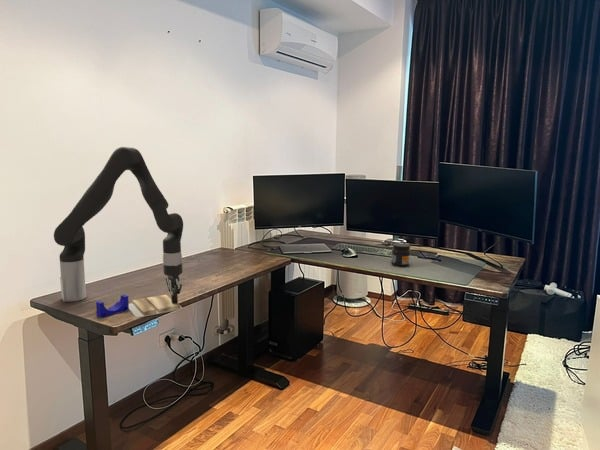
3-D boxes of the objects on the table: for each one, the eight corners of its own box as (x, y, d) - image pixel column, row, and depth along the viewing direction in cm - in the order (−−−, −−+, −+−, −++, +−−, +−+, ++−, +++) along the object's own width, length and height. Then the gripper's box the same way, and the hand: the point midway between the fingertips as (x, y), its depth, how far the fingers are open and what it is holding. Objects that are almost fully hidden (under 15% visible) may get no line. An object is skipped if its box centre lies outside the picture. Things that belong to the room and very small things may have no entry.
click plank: (158, 312, 186) (158, 308, 186) (146, 301, 199) (146, 297, 199) (180, 308, 192) (180, 304, 191) (167, 297, 204) (166, 294, 204)
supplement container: (413, 266, 265) (414, 246, 263) (398, 268, 261) (399, 247, 259) (402, 262, 275) (403, 242, 273) (387, 263, 271) (388, 243, 269)
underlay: (136, 318, 181) (136, 317, 181) (124, 305, 195) (124, 304, 195) (183, 309, 192) (183, 308, 192) (169, 297, 206) (169, 296, 206)
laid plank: (143, 315, 183) (143, 311, 183) (132, 303, 196) (132, 300, 196) (156, 313, 186) (156, 309, 186) (144, 301, 199) (144, 297, 199)
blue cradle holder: (122, 307, 193) (122, 293, 192) (128, 310, 190) (128, 296, 189) (94, 315, 184) (93, 300, 182) (100, 318, 181) (99, 303, 180)
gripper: (158, 260, 193) (160, 300, 197) (169, 267, 183) (171, 309, 186) (175, 257, 198) (177, 296, 201) (187, 264, 187) (189, 305, 190)
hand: (174, 302), depth 193 cm, fingers closed
